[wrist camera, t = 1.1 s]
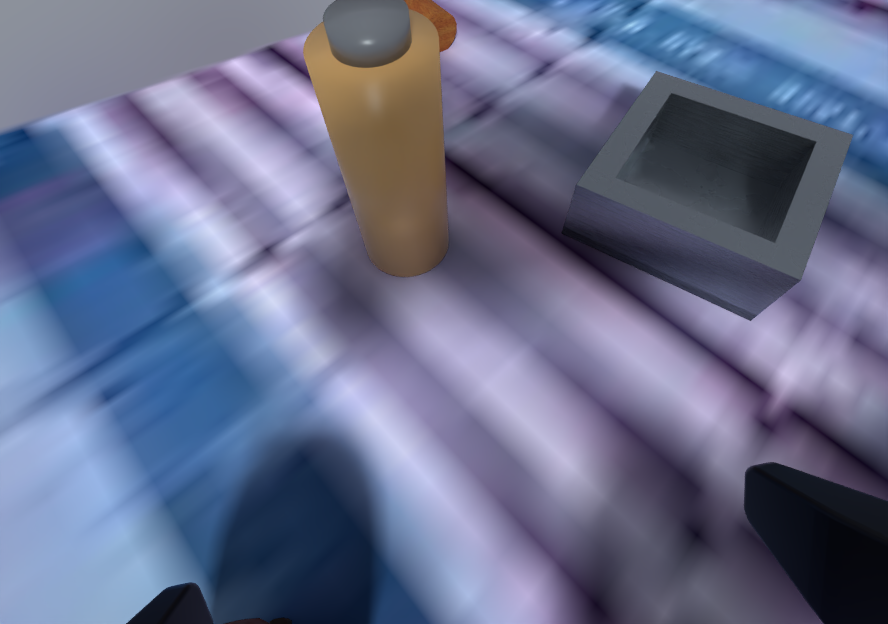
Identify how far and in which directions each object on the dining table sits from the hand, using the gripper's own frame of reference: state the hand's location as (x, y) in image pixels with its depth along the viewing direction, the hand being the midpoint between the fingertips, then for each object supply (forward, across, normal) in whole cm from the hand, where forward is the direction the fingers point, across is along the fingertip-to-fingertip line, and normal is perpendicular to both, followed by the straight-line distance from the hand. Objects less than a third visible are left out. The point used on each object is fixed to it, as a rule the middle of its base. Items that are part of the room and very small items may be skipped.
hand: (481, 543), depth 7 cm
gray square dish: (+21, -16, -2) cm, 26 cm away
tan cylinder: (+21, 0, -2) cm, 22 cm away
